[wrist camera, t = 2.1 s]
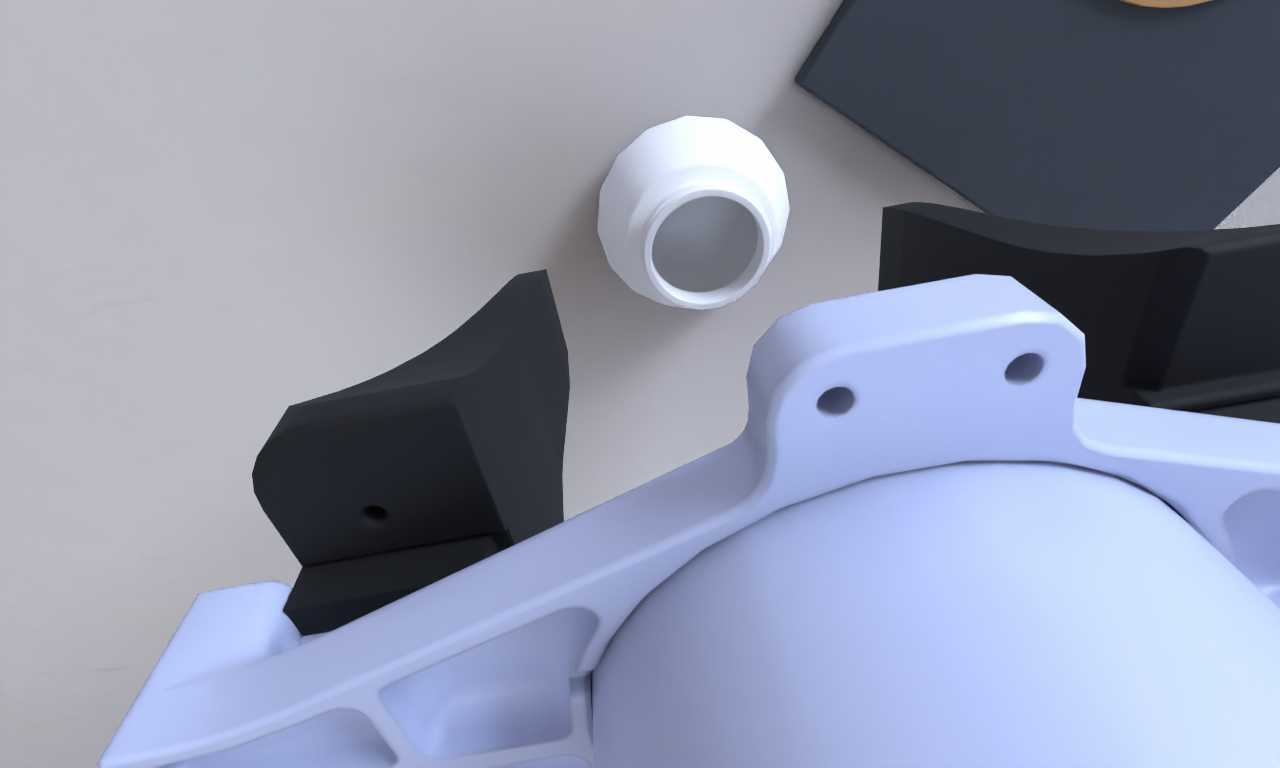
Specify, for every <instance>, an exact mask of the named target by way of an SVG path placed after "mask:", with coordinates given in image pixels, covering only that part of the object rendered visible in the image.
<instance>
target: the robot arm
mask: <svg viewBox="0 0 1280 768" xmlns="http://www.w3.org/2000/svg"><path fill="white" fill-rule="evenodd" d="M747 389H748V401H749V413H748V422H747V425H746V427H745V430H744V431H743V433H742V434H741V435H740V436H739V437H738V438H737V439H736V440H735V441H733V442H732V443H730V444H728V445H726V446H724V447H722V448H719V449H717V450H715V451H713V452H711V453H709V454H707V455H705V456H702V457H700V458H698V459H696V460H694V461H692V462H690V463H688V464H685V465H683V466H681V467H679V468H677V469H675V470H673V471H671V472H668V473H666V474H664V475H662V476H660V477H658V478H656V479H654V480H651V481H649V482H647V483H645V484H643V485H641V486H639V487H637V488H634V489H632V490H630V491H628V492H626V493H624V494H622V495H620V496H617V497H615V498H613V499H611V500H609V501H607V502H605V503H603V504H600V505H598V506H596V507H594V508H592V509H590V510H588V511H586V512H583V513H581V514H579V515H577V516H575V517H573V518H571V519H569V520H566V521H564V515H563V485H562V471H563V454H564V444H565V433H566V423H567V413H568V401H569V390H570V380H569V363H568V350H567V347H566V343H565V339H564V335H563V331H562V328H561V324H560V320H559V316H558V312H557V309H556V305H555V301H554V297H553V293H552V290H551V286H550V282H549V278H548V274H547V271H546V269H545V270H540V271H534V272H529V273H523V274H518V275H517V276H515V277H514V278H512V279H511V280H510V281H509V282H508V283H507V284H506V285H505V286H504V287H503V288H502V289H501V290H500V291H499V292H498V293H497V294H496V295H495V296H494V297H493V298H492V299H491V300H490V301H489V302H488V303H486V304H485V305H484V306H483V307H482V308H481V309H480V310H479V311H478V312H477V313H476V314H474V315H473V316H472V317H471V318H470V319H469V320H467V321H466V322H465V323H464V324H463V325H462V326H460V327H459V328H458V329H457V330H456V331H454V332H453V333H452V334H450V335H449V336H448V337H446V338H445V339H444V340H442V341H441V342H439V343H438V344H436V345H434V346H433V347H431V348H430V349H428V350H427V351H425V352H424V353H422V354H420V355H418V356H416V357H414V358H413V359H411V360H409V361H407V362H405V363H403V364H401V365H399V366H398V367H396V368H394V369H392V370H390V371H388V372H386V373H383V374H381V375H379V376H377V377H374V378H372V379H370V380H367V381H365V382H362V383H360V384H357V385H354V386H352V387H349V388H346V389H344V390H341V391H338V392H335V393H331V394H328V395H325V396H322V397H318V398H315V399H312V400H308V401H305V402H302V403H298V404H295V405H291V406H289V407H288V409H287V410H286V412H285V413H284V415H283V417H282V418H281V420H280V421H279V423H278V424H277V426H276V428H275V429H274V431H273V432H272V434H271V435H270V437H269V439H268V440H267V442H266V443H265V445H264V446H263V448H262V450H261V451H260V453H259V454H258V456H257V458H256V462H255V465H254V469H253V472H252V478H253V486H254V493H255V495H256V497H257V499H258V501H259V503H260V505H261V507H262V509H263V511H264V512H265V513H266V515H267V516H268V518H269V519H270V521H271V522H272V523H273V525H274V526H275V528H276V529H277V531H278V532H279V533H280V535H281V536H282V538H283V539H284V541H285V542H286V543H287V545H288V546H289V548H290V549H291V551H292V552H293V554H294V555H295V556H296V558H297V559H298V561H299V562H300V564H301V565H302V566H303V567H302V569H301V571H300V574H299V576H298V578H297V580H296V583H295V585H294V587H293V588H292V587H291V586H290V585H287V584H284V583H281V582H278V581H265V582H260V583H254V584H248V585H242V586H237V587H231V588H225V589H219V590H214V591H208V592H202V593H199V594H198V595H197V596H196V598H195V600H194V601H193V603H192V605H191V607H190V608H189V610H188V612H187V613H186V615H185V617H184V618H183V620H182V622H181V623H180V625H179V627H178V628H177V630H176V632H175V633H174V635H173V637H172V638H171V640H170V642H169V644H168V645H167V647H166V649H165V650H164V652H163V654H162V655H161V657H160V659H159V660H158V662H157V664H156V665H155V667H154V669H153V670H152V672H151V674H150V675H149V677H148V679H147V680H146V682H145V684H144V686H143V687H142V689H141V691H140V692H139V694H138V696H137V697H136V699H135V701H134V702H133V704H132V706H131V707H130V709H129V711H128V712H127V714H126V716H125V717H124V719H123V721H122V723H121V724H120V726H119V728H118V729H117V731H116V733H115V734H114V736H113V738H112V739H111V741H110V743H109V744H108V746H107V748H106V749H105V751H104V753H103V754H102V756H101V758H100V760H99V761H98V763H97V764H98V766H99V768H1280V224H1277V225H1268V226H1258V227H1249V228H1235V229H1217V230H1198V231H1116V230H1098V229H1086V228H1075V227H1064V226H1056V225H1048V224H1041V223H1035V222H1029V221H1022V220H1016V219H1011V218H1005V217H1000V216H995V215H990V214H985V213H980V212H975V211H970V210H965V209H960V208H955V207H950V206H945V205H939V204H933V203H923V202H911V203H906V204H900V205H895V206H889V207H884V208H883V216H882V233H881V251H880V268H879V285H878V292H872V293H867V294H861V295H856V296H850V297H845V298H839V299H834V300H828V301H823V302H817V303H813V304H811V305H809V306H806V307H804V308H801V309H799V310H797V311H794V312H792V313H789V314H787V315H785V316H782V317H780V318H778V319H777V320H776V321H775V323H774V324H773V325H772V326H771V327H770V328H769V329H768V330H767V331H766V332H765V334H764V335H763V336H762V337H761V338H760V339H759V340H758V341H757V342H756V343H755V345H754V346H753V351H752V355H751V359H750V364H749V368H748V372H747Z"/></svg>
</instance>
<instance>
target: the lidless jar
mask: <svg viewBox="0 0 1280 768" xmlns="http://www.w3.org/2000/svg"><path fill="white" fill-rule="evenodd" d="M789 211H790V207H789V201H788V195H787V189H786V183H785V177H784V172H783V171H782V169H781V168H780V166H779V165H778V164H777V162H776V161H775V159H774V158H773V156H772V155H771V153H770V152H769V150H768V149H767V147H766V146H765V144H764V143H763V142H762V141H761V139H760V138H758V137H756V136H754V135H753V134H751V133H749V132H748V131H746V130H744V129H743V128H741V127H739V126H737V125H736V124H734V123H732V122H731V121H729V120H727V119H719V118H709V117H698V116H684V117H681V118H678V119H675V120H672V121H669V122H666V123H663V124H660V125H657V126H654V127H651V128H648V129H647V130H646V131H645V132H644V133H642V134H641V135H640V136H639V137H638V138H637V139H636V140H634V141H633V142H632V143H631V144H630V145H629V146H628V147H626V148H625V149H624V150H623V151H622V152H621V153H620V154H618V155H617V157H616V159H615V161H614V163H613V165H612V167H611V169H610V171H609V173H608V175H607V177H606V179H605V181H604V183H603V185H602V187H601V189H600V198H599V213H598V234H599V237H600V240H601V243H602V246H603V248H604V251H605V254H606V257H607V260H608V262H609V265H610V267H611V268H612V269H613V270H614V271H615V272H616V273H617V274H618V275H619V276H620V277H621V279H622V280H623V281H624V282H625V283H626V284H627V285H628V286H629V287H630V288H631V289H632V290H633V291H634V292H637V293H639V294H641V295H643V296H645V297H648V298H650V299H652V300H654V301H656V302H658V303H661V304H663V305H667V306H673V307H682V308H689V309H697V310H706V309H714V308H718V307H722V306H725V305H728V304H730V303H732V302H734V301H736V300H738V299H739V298H741V297H742V296H744V295H745V294H746V293H747V292H748V291H750V290H751V289H752V288H753V286H754V285H755V284H756V283H757V282H758V280H759V279H760V277H761V276H762V274H763V272H764V271H765V269H766V268H767V266H768V265H769V264H770V262H771V261H772V259H773V258H774V256H775V254H776V253H777V251H778V250H779V248H780V247H781V245H782V241H783V237H784V232H785V228H786V224H787V220H788V215H789Z"/></svg>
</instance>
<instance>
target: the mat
mask: <svg viewBox="0 0 1280 768" xmlns="http://www.w3.org/2000/svg"><path fill="white" fill-rule="evenodd" d="M795 82H796V83H797V84H798V85H800V86H801V87H803V88H804V89H806V90H807V91H809V92H810V93H811V94H813V95H814V96H816V97H817V98H819V99H820V100H822V101H823V102H825V103H826V104H828V105H829V106H831V107H832V108H833V109H835V110H836V111H838V112H839V113H841V114H842V115H844V116H845V117H847V118H848V119H850V120H851V121H853V122H854V123H855V124H857V125H858V126H860V127H861V128H863V129H864V130H866V131H867V132H869V133H870V134H872V135H873V136H875V137H876V138H877V139H879V140H880V141H882V142H883V143H885V144H886V145H888V146H889V147H891V148H892V149H894V150H895V151H897V152H898V153H900V154H901V155H902V156H904V157H905V158H907V159H908V160H910V161H911V162H913V163H914V164H916V165H917V166H919V167H920V168H922V169H923V170H924V171H926V172H927V173H929V174H930V175H932V176H933V177H935V178H936V179H938V180H939V181H941V182H942V183H944V184H945V185H946V186H948V187H949V188H951V189H952V190H954V191H955V192H957V193H958V194H960V195H961V196H963V197H964V198H966V199H967V200H969V201H970V202H971V203H973V204H974V205H976V206H977V207H979V208H980V209H982V210H983V211H985V212H986V213H988V214H990V215H995V216H1000V217H1005V218H1011V219H1016V220H1022V221H1029V222H1035V223H1041V224H1048V225H1056V226H1064V227H1075V228H1086V229H1098V230H1116V231H1198V230H1213V229H1214V228H1215V227H1216V226H1217V225H1218V224H1220V223H1221V222H1222V221H1223V220H1224V219H1225V218H1226V217H1227V216H1228V215H1229V214H1230V213H1231V212H1232V211H1233V210H1234V209H1235V208H1237V207H1238V206H1239V205H1240V204H1241V203H1242V202H1243V201H1244V200H1245V199H1246V198H1247V197H1248V196H1249V195H1250V194H1251V193H1252V192H1254V191H1255V190H1256V189H1257V188H1258V187H1259V186H1260V185H1261V184H1262V183H1263V182H1264V181H1265V180H1266V179H1267V178H1268V177H1269V176H1271V175H1272V174H1273V173H1274V172H1275V171H1276V170H1277V169H1278V168H1279V167H1280V0H845V1H844V2H843V4H842V6H841V7H840V9H839V10H838V12H837V14H836V15H835V17H834V18H833V20H832V21H831V23H830V25H829V26H828V28H827V29H826V31H825V32H824V34H823V36H822V37H821V39H820V40H819V42H818V43H817V45H816V47H815V48H814V50H813V51H812V53H811V55H810V56H809V58H808V59H807V61H806V62H805V64H804V66H803V67H802V69H801V70H800V72H799V73H798V75H797V77H796V78H795Z"/></svg>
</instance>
